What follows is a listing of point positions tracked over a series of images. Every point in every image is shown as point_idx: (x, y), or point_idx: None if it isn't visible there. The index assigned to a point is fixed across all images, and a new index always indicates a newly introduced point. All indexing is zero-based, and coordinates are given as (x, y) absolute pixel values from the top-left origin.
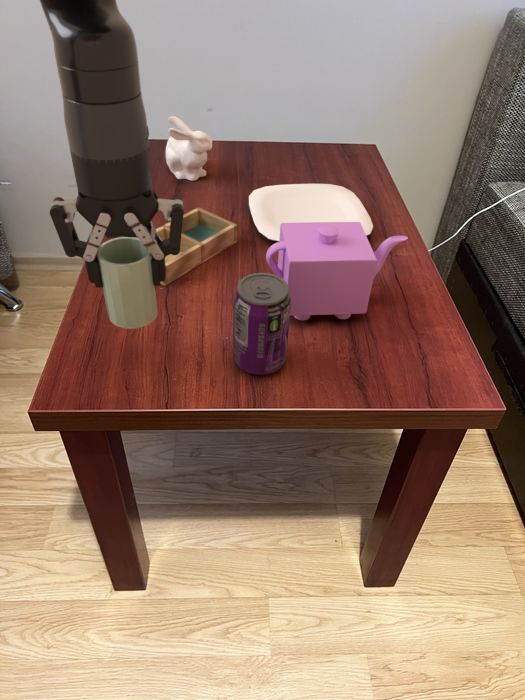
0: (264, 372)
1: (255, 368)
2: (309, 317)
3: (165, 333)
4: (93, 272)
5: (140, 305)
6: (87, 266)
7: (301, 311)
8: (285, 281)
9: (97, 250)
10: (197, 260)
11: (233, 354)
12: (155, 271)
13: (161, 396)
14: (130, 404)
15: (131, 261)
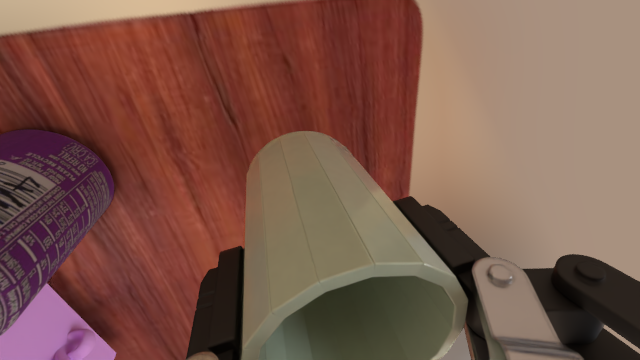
0: (4, 133)
1: (18, 134)
2: None
3: None
4: (442, 228)
5: (269, 174)
6: (471, 243)
7: None
8: (20, 357)
9: (487, 320)
10: None
11: (98, 167)
12: (226, 294)
13: (215, 48)
14: (267, 18)
15: (334, 308)
